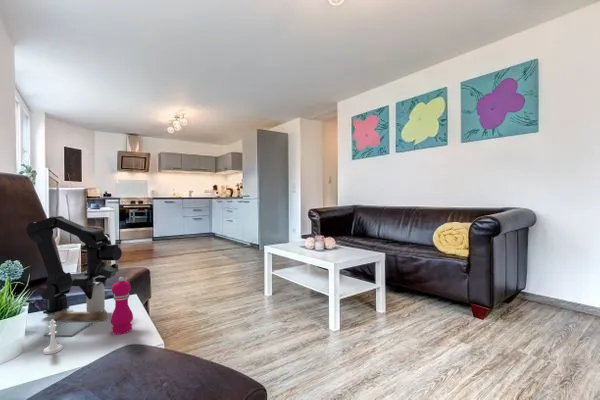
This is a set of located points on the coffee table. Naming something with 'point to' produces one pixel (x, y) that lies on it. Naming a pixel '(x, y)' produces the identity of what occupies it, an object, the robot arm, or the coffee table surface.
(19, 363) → the coffee table surface
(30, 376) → the coffee table surface
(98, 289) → the beverage can
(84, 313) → the low wall
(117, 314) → the pepper mill
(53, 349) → the chess piece
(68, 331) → the slate mat
